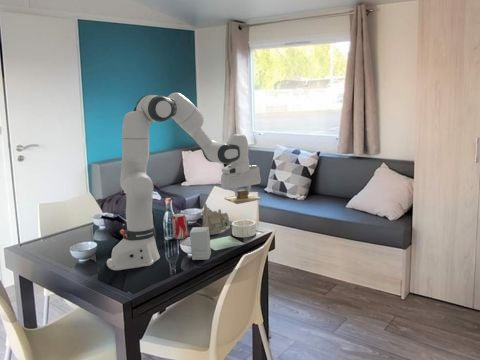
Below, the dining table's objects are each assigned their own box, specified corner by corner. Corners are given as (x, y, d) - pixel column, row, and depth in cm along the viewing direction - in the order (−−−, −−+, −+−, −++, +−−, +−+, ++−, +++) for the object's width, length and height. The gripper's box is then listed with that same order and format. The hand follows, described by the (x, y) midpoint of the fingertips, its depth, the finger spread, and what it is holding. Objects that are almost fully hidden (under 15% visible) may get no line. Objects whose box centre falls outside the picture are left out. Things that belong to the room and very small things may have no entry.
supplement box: (211, 254, 207) (209, 226, 204) (208, 260, 200) (206, 231, 197) (194, 254, 208) (192, 227, 205) (191, 260, 200) (189, 232, 198)
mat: (215, 251, 210) (215, 250, 210) (201, 242, 223) (201, 241, 223) (244, 244, 217) (244, 243, 217) (230, 236, 230) (230, 235, 230)
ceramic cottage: (204, 236, 232) (204, 206, 230) (198, 228, 248) (198, 200, 246) (235, 234, 236) (235, 204, 234) (227, 226, 252) (227, 199, 250)
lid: (224, 199, 231) (223, 190, 230) (247, 194, 237) (247, 186, 236) (236, 204, 219) (236, 195, 219) (260, 199, 225) (260, 190, 224)
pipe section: (239, 239, 224) (238, 227, 223) (228, 233, 234) (227, 222, 233) (260, 235, 229) (259, 223, 228) (248, 229, 239) (248, 218, 238)
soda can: (185, 240, 227) (183, 216, 225) (171, 240, 229) (169, 216, 227) (189, 236, 234) (187, 212, 232) (176, 235, 236) (174, 212, 233)
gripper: (255, 163, 232) (257, 191, 235) (218, 169, 223) (220, 197, 226) (262, 165, 227) (264, 193, 230) (224, 171, 218) (226, 200, 220)
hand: (242, 195), depth 228 cm, fingers closed on lid, 4 cm apart
